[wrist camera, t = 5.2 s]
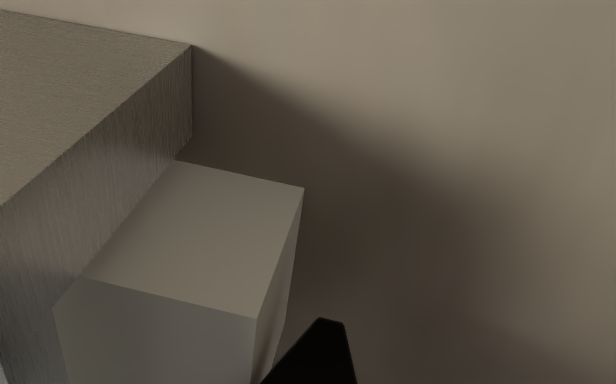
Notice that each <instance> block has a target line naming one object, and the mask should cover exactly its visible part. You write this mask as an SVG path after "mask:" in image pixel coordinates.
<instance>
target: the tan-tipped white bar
mask: <svg viewBox="0 0 616 384" xmlns="http://www.w3.org/2000/svg"><path fill="white" fill-rule="evenodd" d="M304 190H305V188H302V187H297V186H293V185H288V184H284V183H279V182H274V181H270V180H265V179H260V178H256V177H251V176H247V175H242V174H237V173H233V172H228V171H224V170H219V169H214V168H210V167H205V166H201V165H196V164H191V163H187V162H182V161H177V160H172V162H171V163H170V164H169V165H168V166H167V168H166V169H165V170H164V171H163V173H162V174H161V175H160V176H159V177H158V179H157V180H156V181H155V182H154V184H153V185H152V186H151V187H150V189H149V190H148V191H147V192H146V193H145V195H144V196H143V197H142V198H141V200H140V201H139V202H138V203H137V204H136V206H135V207H134V208H133V209H132V211H131V212H130V213H129V214H128V216H127V217H126V218H125V219H124V220H123V222H122V223H121V224H120V225H119V227H118V228H117V229H116V230H115V232H114V233H113V234H112V235H111V236H110V238H109V239H108V240H107V241H106V243H105V244H104V245H103V246H102V247H101V249H100V250H99V251H98V252H97V254H96V255H95V256H94V257H93V259H92V260H91V261H90V262H89V263H88V265H87V266H86V267H85V268H84V270H83V271H82V272H81V273H80V274H79V276H78V277H77V278H76V279H75V281H74V282H73V283H72V284H71V286H70V287H69V288H68V289H67V290H66V292H65V293H64V294H63V295H62V297H61V298H60V299H59V300H58V301H57V303H56V304H55V305H54V306H53V308H52V311H53V315H54V319H55V323H56V328H57V332H58V336H59V340H60V344H61V348H62V353H63V357H64V361H65V365H66V369H67V374H68V378H69V382H70V384H259V383H260V382H261V381H262V380H263V379H264V378H265V376H266V375H267V374H268V373H269V372H270V370H271V367H272V364H273V360H274V357H275V354H276V351H277V347H278V344H279V341H280V338H281V334H282V331H283V328H284V324H285V318H286V311H287V305H288V298H289V291H290V284H291V278H292V271H293V264H294V257H295V251H296V244H297V237H298V230H299V223H300V217H301V210H302V203H303V196H304Z"/></svg>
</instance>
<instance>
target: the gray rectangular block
mask: <svg viewBox="0 0 616 384" xmlns="http://www.w3.org/2000/svg"><path fill="white" fill-rule="evenodd" d="M192 136H193V134H192V65H191V45H189V44H184V43H178V42H173V41H167V40H162V39H156V38H151V37H145V36H140V35H134V34H129V33H123V32H118V31H112V30H107V29H102V28H96V27H91V26H85V25H80V24H74V23H69V22H63V21H58V20H52V19H47V18H41V17H36V16H31V15H25V14H20V13H14V12H9V11H3V10H0V384H70V382H69V378H68V374H67V369H66V365H65V361H64V357H63V353H62V348H61V344H60V340H59V336H58V332H57V328H56V323H55V319H54V315H53V311H52V308H53V306H54V305H55V304H56V303H57V301H58V300H59V299H60V298H61V297H62V295H63V294H64V293H65V292H66V290H67V289H68V288H69V287H70V286H71V284H72V283H73V282H74V281H75V279H76V278H77V277H78V276H79V274H80V273H81V272H82V271H83V270H84V268H85V267H86V266H87V265H88V263H89V262H90V261H91V260H92V259H93V257H94V256H95V255H96V254H97V252H98V251H99V250H100V249H101V247H102V246H103V245H104V244H105V243H106V241H107V240H108V239H109V238H110V236H111V235H112V234H113V233H114V232H115V230H116V229H117V228H118V227H119V225H120V224H121V223H122V222H123V220H124V219H125V218H126V217H127V216H128V214H129V213H130V212H131V211H132V209H133V208H134V207H135V206H136V204H137V203H138V202H139V201H140V200H141V198H142V197H143V196H144V195H145V193H146V192H147V191H148V190H149V189H150V187H151V186H152V185H153V184H154V182H155V181H156V180H157V179H158V177H159V176H160V175H161V174H162V173H163V171H164V170H165V169H166V168H167V166H168V165H169V164H170V163H171V162H172V160H173V159H174V158H175V157H176V155H177V154H178V153H179V152H180V150H181V149H182V148H183V147H184V146H185V144H186V143H187V142H188V141H189V139H190V138H191V137H192Z"/></svg>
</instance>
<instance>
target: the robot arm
mask: <svg viewBox="0 0 616 384" xmlns="http://www.w3.org/2000/svg"><path fill="white" fill-rule="evenodd" d="M259 384H357V379H356V375H355V371H354V366H353V362H352V357H351V353H350V348H349V344H348V339H347V335H346V330H345V326H344V324H343V323H341V322H338V321H334V320H330V319H326V318H322V317H319V318H317V319H316V320H315V321H314V322H313V323H312V324H311V326H310V327H309V328H308V329H307V330H306V331H305V332H304V333H303V335H302V336H301V337H300V338H299V339H298V340H297V341H296V343H295V344H294V345H293V346H292V347H291V348H290V349H289V350H288V352H287V353H286V354H285V355H284V356H283V357H282V358H281V359H280V361H279V362H278V363H277V364H276V365H275V366H274V367H273V369H272V370H271V371H270V372H269V373H268V374H267V375H266V376H265V378H264V379H263V380H262V381H261V382H260V383H259Z"/></svg>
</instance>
